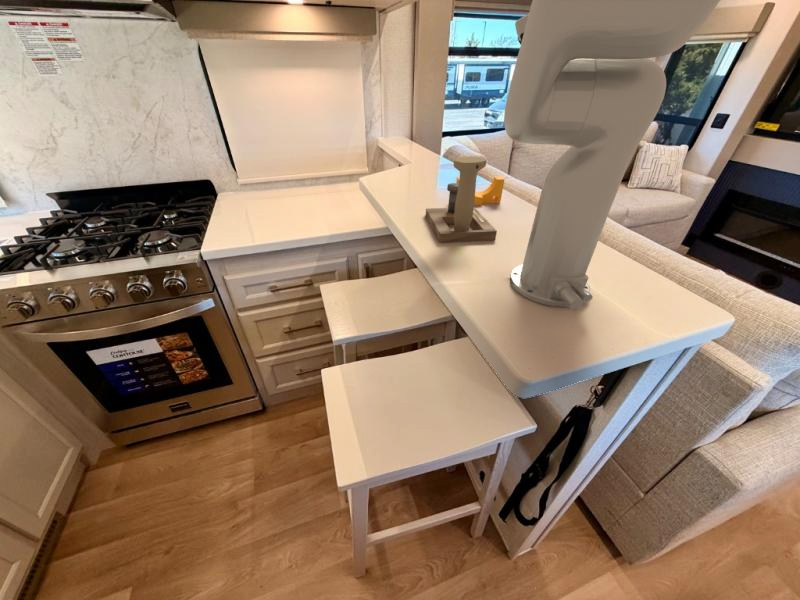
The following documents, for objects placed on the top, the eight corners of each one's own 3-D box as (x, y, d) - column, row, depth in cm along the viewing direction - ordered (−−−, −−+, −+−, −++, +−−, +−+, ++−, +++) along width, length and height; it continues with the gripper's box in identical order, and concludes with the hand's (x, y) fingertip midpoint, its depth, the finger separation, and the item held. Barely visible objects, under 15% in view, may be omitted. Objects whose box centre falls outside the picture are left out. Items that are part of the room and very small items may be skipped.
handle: (443, 230, 73) (449, 158, 64) (466, 225, 75) (475, 155, 66) (455, 238, 69) (464, 163, 61) (479, 233, 71) (491, 160, 63)
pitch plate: (495, 240, 69) (502, 202, 64) (439, 242, 67) (442, 204, 63) (473, 214, 81) (477, 181, 76) (425, 216, 80) (427, 183, 75)
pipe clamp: (457, 206, 86) (460, 181, 83) (454, 201, 90) (456, 177, 86) (502, 206, 87) (506, 181, 83) (496, 200, 91) (501, 176, 87)
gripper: (539, -57, 51) (515, 77, 60) (640, -51, 53) (601, 78, 62) (518, -43, 57) (500, 76, 67) (610, -38, 59) (579, 77, 68)
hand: (549, 77), depth 64 cm, fingers open, 9 cm apart
